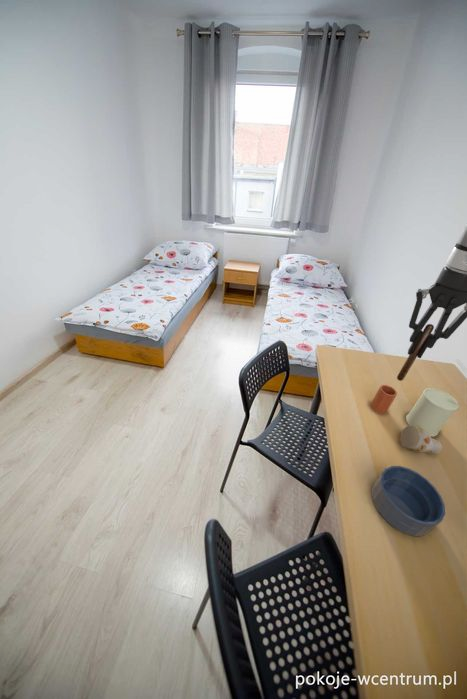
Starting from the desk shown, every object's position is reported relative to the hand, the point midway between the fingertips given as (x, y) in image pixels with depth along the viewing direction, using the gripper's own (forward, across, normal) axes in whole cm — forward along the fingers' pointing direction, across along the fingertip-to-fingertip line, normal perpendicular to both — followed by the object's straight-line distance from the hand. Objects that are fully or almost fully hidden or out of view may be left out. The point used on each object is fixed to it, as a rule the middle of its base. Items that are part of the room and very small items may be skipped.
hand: (414, 353), depth 76 cm
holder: (+24, -1, +3) cm, 24 cm away
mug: (+24, +11, -7) cm, 28 cm away
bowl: (+24, +9, -29) cm, 39 cm away
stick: (+9, 0, 0) cm, 9 cm away
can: (+24, +12, +4) cm, 27 cm away
